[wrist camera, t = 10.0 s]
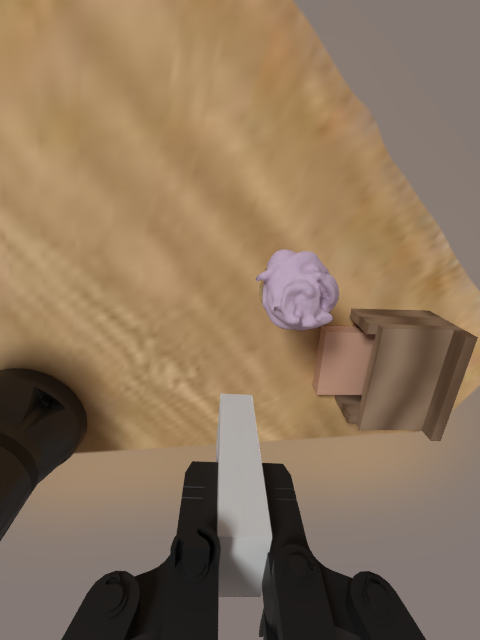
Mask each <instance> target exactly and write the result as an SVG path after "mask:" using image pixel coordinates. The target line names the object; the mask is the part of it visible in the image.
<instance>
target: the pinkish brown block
mask: <svg viewBox="0 0 480 640" xmlns="http://www.w3.org/2000/svg"><path fill="white" fill-rule="evenodd" d="M375 335H376V334H366V333H365V332H364V331H363V330H362V329H361V328H360V327H359V326H321V331H320V338H319V345H318V352H317V359H316V366H315V373H314V380H313V388H314V390H315V392H316V394H317V395H362V393H363V389H364V384H365V380H366V375H367V371H368V366H369V362H370V358H371V353H372V349H373V344H374V340H375Z"/></svg>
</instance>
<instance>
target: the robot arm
mask: <svg viewBox="0 0 480 640" xmlns="http://www.w3.org/2000/svg"><path fill="white" fill-rule="evenodd" d="M86 427H87V420H86V414H85V411H84V408H83V406H82V404H81V402H80V401H79V399H78V398H77V397H76V395H75V394H74V393H73V392H72V391H71V390H70V389H69V388H68V387H66V386H65V385H64V384H62V383H61V382H59V381H58V380H56V379H54V378H52V377H50V376H48V375H46V374H43V373H40V372H37V371H33V370H28V369H5V370H0V541H1V539H2V537H3V536H4V535H5V533H6V531H7V530H8V528H9V527H10V525H11V524H12V522H13V521H14V519H15V517H16V516H17V514H18V513H19V511H20V510H21V508H22V507H23V505H24V503H25V502H26V500H27V499H28V497H29V496H30V494H31V493H32V491H33V490H34V488H35V487H36V485H37V484H38V483H39V482H40V481H42V480H43V479H44V478H45V477H46V476H47V475H48V474H49V473H51V472H52V471H53V470H54V469H55V468H56V467H57V466H59V465H60V464H62V463H64V462H65V461H66V460H67V459H68V458H70V456H71V455H72V454H73V453H74V452H75V450H76V449H77V447H78V446H79V444H80V442H81V441H82V439H83V437H84V435H85V432H86ZM216 447H217V448H216V462H194V461H193V462H192V463H191V465H190V466H189V468H188V469H187V471H186V473H185V479H184V486H183V493H182V500H181V507H180V514H179V521H178V528H177V535H176V536H175V538H174V540H173V543H172V546H171V554H170V556H169V557H168V558H167V559H166V561H165V562H164V563H162V564H161V565H160V566H159V567H157V568H155V569H153V570H151V571H148V572H146V573H143V574H140V575H137V576H135V577H134V576H133V575H131V574H130V573H128V572H126V571H114V572H111V573H109V574H106V575H104V576H103V577H102V578H100V579H99V580H98V581H97V582H95V584H94V585H93V586H92V588H91V589H90V590H89V592H88V593H87V595H86V597H85V599H84V600H83V602H82V604H81V606H80V607H79V609H78V611H77V613H76V615H75V616H74V618H73V620H72V622H71V624H70V625H69V627H68V629H67V631H66V633H65V634H64V636H63V638H62V640H218V597H260V596H261V591H262V592H263V601H264V609H263V614H262V619H261V623H260V630H259V637H263V636H264V640H426V639H425V637H424V636H423V634H422V633H421V631H420V629H419V628H418V626H417V624H416V623H415V621H414V620H413V618H412V617H411V615H410V613H409V612H408V610H407V609H406V607H405V605H404V604H403V602H402V601H401V599H400V598H399V596H398V594H397V593H396V591H395V590H394V589H393V588H392V586H391V585H390V584H389V583H388V582H387V581H386V580H385V579H383V578H382V577H380V576H379V575H377V574H375V573H372V572H369V571H365V572H359V573H358V574H356V575H355V576H354V577H353V578H350V577H348V576H345V575H343V574H340V573H337V572H335V571H332V570H330V569H328V568H326V567H325V566H324V565H322V564H321V563H320V562H319V561H318V560H317V559H316V558H315V557H314V556H313V554H312V552H311V551H310V549H309V546H308V543H307V540H306V536H305V532H304V528H303V524H302V520H301V515H300V511H299V507H298V503H297V501H296V495H295V491H294V487H293V482H292V478H291V475H290V473H289V472H288V471H287V469H286V468H285V466H284V465H283V464H274V463H273V464H272V463H262V461H261V455H260V447H259V440H258V433H257V426H256V419H255V412H254V405H253V398H252V395H237V394H221V395H220V406H219V418H218V429H217V443H216Z"/></svg>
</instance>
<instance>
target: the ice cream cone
mask: <svg viewBox="0 0 480 640" xmlns="http://www.w3.org/2000/svg"><path fill="white" fill-rule="evenodd" d="M267 266H268V267H267V268H266V270H265V272H263V273H261V274H260V275H258V276H257V278H256V280H257V281H259V280H261V283H260V288H259V295H260V300H261V302H262V304H263V307H264V309H265V310H266V312H267V314H268V316H269V318H270V320H271V321H272V322H273V323H274V324H275V325H277V326H278V327H280V328H283V329H295V330H308V329H313V328H317V327H319V326H322V325H325V324H327V323H329V322H331V321H332V319H333V317H332V315H331V314H329V312H330V311H331V310H332V309H333V308H334V306H335V305H336V303H337V301H338V298H339V289H338V285H337V283H336V281H335V279H334V277H333V276H331V275H330V274H329V271H328V269H327V268H326V267H325V266H324V265H323V263H322V262H321V261H320V260H319V259H318V257H317V256H316V254H315V253H313V252H307V251H304V252H299V253H295V252H293V251H291V250H287V249H283V250H279V251H277V252H275V253H274V254H273V255H272V257H271V259H270V260H269V262H268V264H267Z"/></svg>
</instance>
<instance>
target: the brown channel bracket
mask: <svg viewBox="0 0 480 640" xmlns="http://www.w3.org/2000/svg"><path fill="white" fill-rule="evenodd" d="M350 318H351V319H352V320H353V321H354V322H355V323H356V324H357V325H358V326H359V327H360V328H361V329H362V330H363V331H364V332H365V333H366V334H376V335H375V340H374V344H373V349H372V353H371V358H370V362H369V366H368V371H367V375H366V380H365V384H364V389H363V393H362V395H335V400H336V402H337V404H338V406H339V407H340V409H341V411H342V413H343V415H344V417H345V418H346V420H347V422H348V423H356V424H357V426H358V428H359V429H360V430H422V431H423V432H424V433H425V435H426V436H427V437H428V438H429V439H430V440H431V441H440V440H441V438H442V435H443V433H444V430H445V427H446V424H447V421H448V419H449V416H450V413H451V410H452V408H453V405H454V402H455V399H456V397H457V394H458V391H459V388H460V385H461V383H462V380H463V377H464V374H465V372H466V369H467V366H468V363H469V360H470V358H471V355H472V352H473V349H474V347H475V344H476V341H477V338H478V337H476V336H474V335H472V334H470V333H469V332H467V331H465V330H463V329H461V328H460V327H458V326H456V325H454V324H452V323H450V322H449V321H447V320H445V319H443V318H441V317H439V316H438V315H436V314H434V313H432V312H430V311H417V310H378V309H351V315H350Z"/></svg>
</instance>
